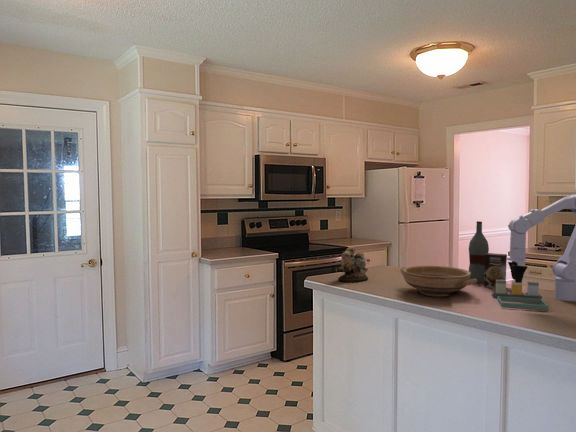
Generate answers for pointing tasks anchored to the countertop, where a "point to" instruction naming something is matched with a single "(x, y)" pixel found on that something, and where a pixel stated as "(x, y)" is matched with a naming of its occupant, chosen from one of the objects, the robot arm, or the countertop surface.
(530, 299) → the parts tray
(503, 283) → the block
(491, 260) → the coffee box
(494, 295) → the fuse holder
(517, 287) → the block
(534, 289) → the grey rectangular block
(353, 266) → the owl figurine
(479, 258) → the bottle
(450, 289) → the ceramic bowl
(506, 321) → the countertop surface
